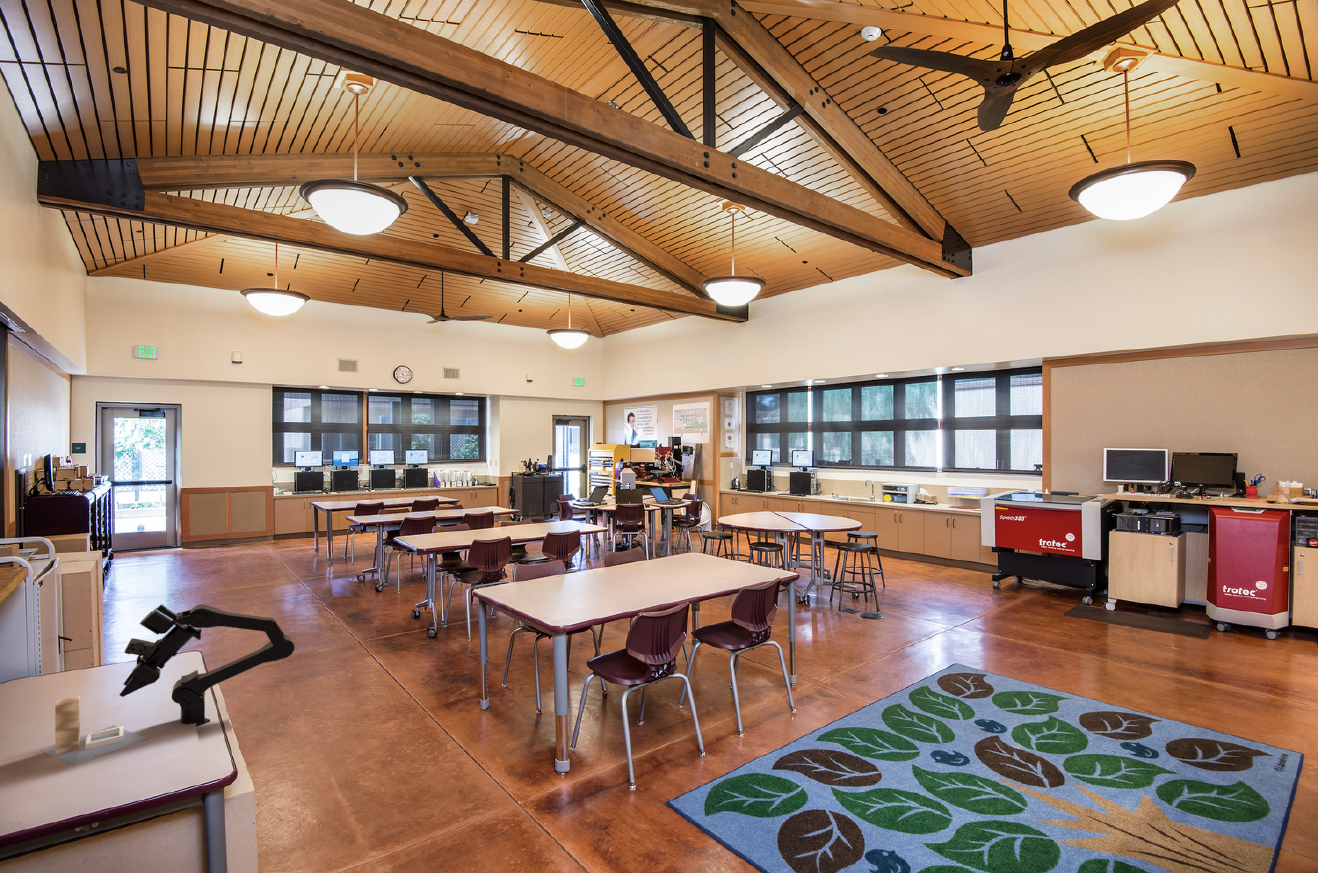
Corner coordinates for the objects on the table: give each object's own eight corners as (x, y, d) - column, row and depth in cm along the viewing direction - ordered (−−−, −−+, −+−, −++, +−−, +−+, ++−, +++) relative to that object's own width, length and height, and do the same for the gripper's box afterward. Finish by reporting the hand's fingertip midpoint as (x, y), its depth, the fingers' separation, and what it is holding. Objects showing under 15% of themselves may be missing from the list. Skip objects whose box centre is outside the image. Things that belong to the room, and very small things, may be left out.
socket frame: (123, 731, 177) (123, 725, 177) (122, 741, 171) (122, 735, 171) (87, 739, 172) (87, 734, 172) (85, 750, 166) (85, 744, 166)
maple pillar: (79, 743, 170) (79, 696, 170) (78, 749, 166) (78, 701, 166) (57, 748, 167) (57, 700, 167) (55, 755, 163) (55, 706, 163)
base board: (147, 742, 172) (147, 738, 172) (74, 770, 158) (74, 765, 158) (113, 729, 180) (113, 725, 180) (40, 755, 166) (40, 750, 166)
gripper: (149, 620, 185) (100, 665, 179) (143, 636, 170) (89, 686, 164) (182, 640, 190) (136, 685, 183) (179, 658, 175) (129, 707, 168)
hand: (122, 690), depth 175 cm, fingers open, 9 cm apart
